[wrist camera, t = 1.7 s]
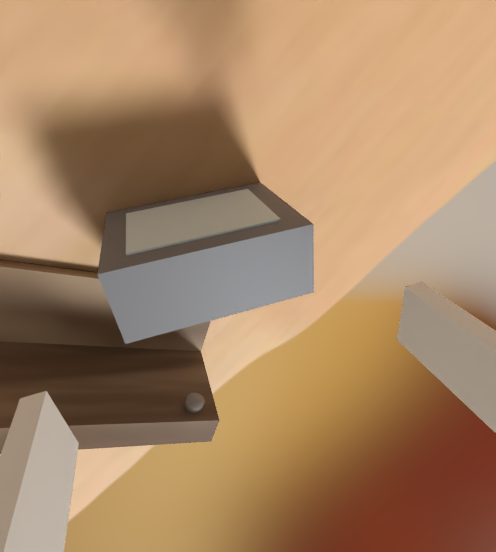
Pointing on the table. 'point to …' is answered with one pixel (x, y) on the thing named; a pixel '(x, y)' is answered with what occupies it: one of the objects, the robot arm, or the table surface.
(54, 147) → the table surface
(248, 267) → the grey box
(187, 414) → the wall rail
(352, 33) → the table surface
